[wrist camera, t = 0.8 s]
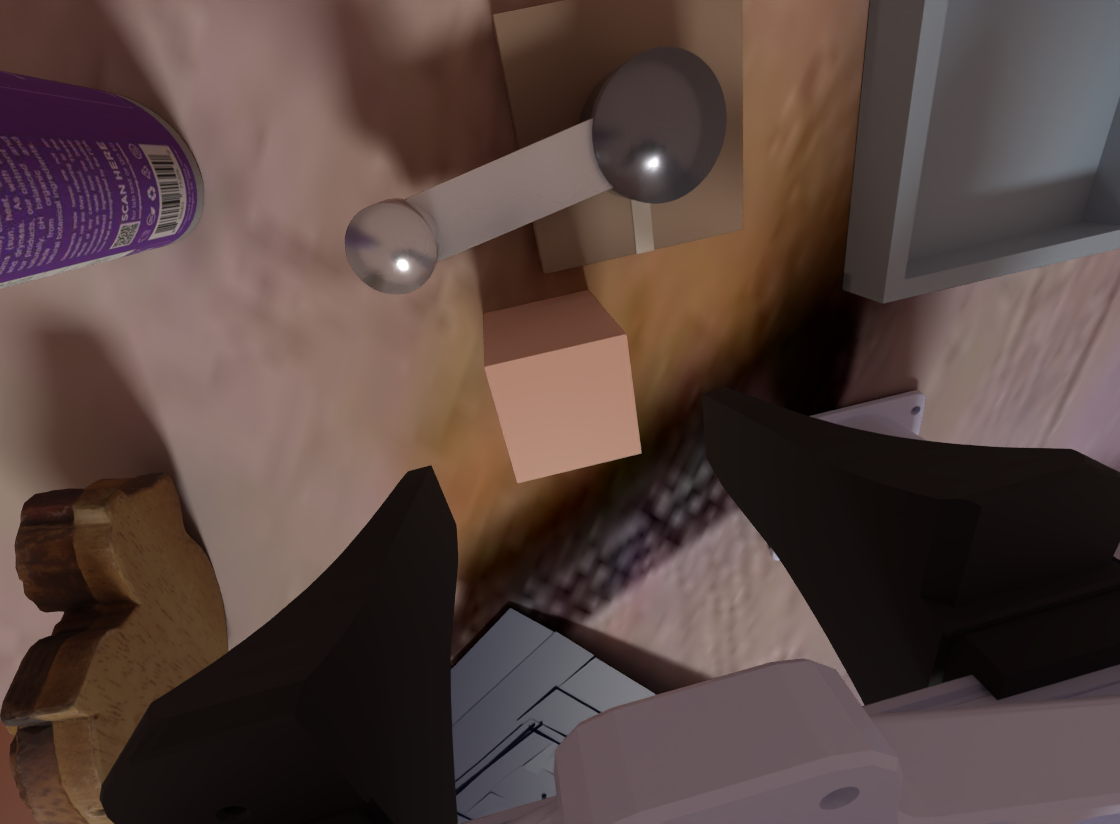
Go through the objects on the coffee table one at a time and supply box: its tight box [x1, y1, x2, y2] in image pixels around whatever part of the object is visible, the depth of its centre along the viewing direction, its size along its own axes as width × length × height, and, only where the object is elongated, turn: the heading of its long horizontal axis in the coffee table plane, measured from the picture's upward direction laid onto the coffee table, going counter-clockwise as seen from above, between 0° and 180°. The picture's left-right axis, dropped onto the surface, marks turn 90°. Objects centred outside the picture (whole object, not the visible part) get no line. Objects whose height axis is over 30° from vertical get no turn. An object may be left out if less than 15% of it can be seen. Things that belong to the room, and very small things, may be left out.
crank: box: [345, 47, 727, 294], centre depth 15 cm, size 12×4×4 cm, turn 110°
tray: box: [842, 0, 1120, 304], centre depth 18 cm, size 12×12×2 cm
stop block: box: [483, 290, 641, 483], centre depth 19 cm, size 4×4×6 cm
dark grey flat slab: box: [451, 608, 656, 824], centre depth 36 cm, size 24×30×4 cm
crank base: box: [492, 0, 743, 274], centre depth 17 cm, size 8×8×1 cm
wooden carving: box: [0, 473, 228, 824], centre depth 19 cm, size 16×5×10 cm, turn 179°
